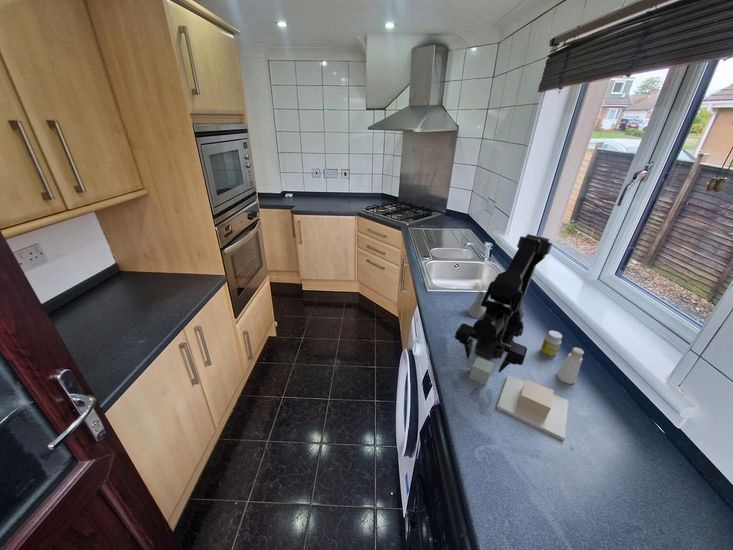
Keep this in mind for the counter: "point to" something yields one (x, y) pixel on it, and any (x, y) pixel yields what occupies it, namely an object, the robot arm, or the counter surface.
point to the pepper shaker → (571, 366)
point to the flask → (477, 306)
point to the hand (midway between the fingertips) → (483, 364)
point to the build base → (529, 417)
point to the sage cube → (481, 370)
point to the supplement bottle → (551, 344)
